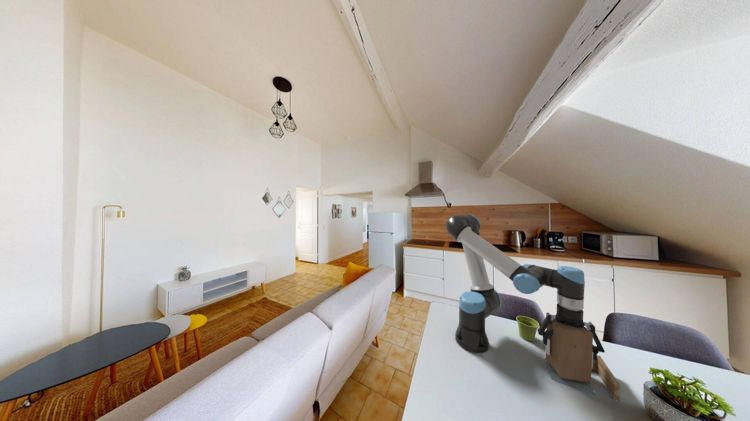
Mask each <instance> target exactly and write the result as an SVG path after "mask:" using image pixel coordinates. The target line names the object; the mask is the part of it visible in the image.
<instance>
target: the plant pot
mask: <svg viewBox="0 0 750 421" xmlns="http://www.w3.org/2000/svg"><path fill="white" fill-rule="evenodd" d="M515 319H516V321H517V326H518V334H519V336H520V337H521V339H522V340H526V341H528V342H531V341H532V342H534V341H535V338H536V334H537V330H538V328H539V327H540V323H539V322H538V321H537V320H535V319H534V318H531V317H528V316H523V315H517V316H516V317H515Z"/></svg>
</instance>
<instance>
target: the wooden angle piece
mask: <svg viewBox="0 0 750 421" xmlns="http://www.w3.org/2000/svg"><path fill="white" fill-rule="evenodd" d="M592 370H593V371H596V373H597V374H598V375H599V377H600V378H601V380H602V382H603V384H604V386H605V388H606V389H607V390H608V392H609V394H610V396H611V397H612V399H613V400H614V401H617V402H620V393H621V392H620V391H621V390H620V388H621V384H620V383H619V382H618V380H617V379H616V377H615V376H614V374H613V373H612V371H611V369H609V367H608V366H607V364H606V362H605V361H604V359H603V358H602V357H601V355H598V354H597V359H596V360H594V359H593V369H592Z"/></svg>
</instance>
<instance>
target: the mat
mask: <svg viewBox="0 0 750 421" xmlns="http://www.w3.org/2000/svg"><path fill="white" fill-rule="evenodd" d="M544 359H545V363H546V366H547V369H548V373H549V377H550V380H553V381H556V382H558V383H560V384H561V383H562V384H564V385H567V386H570V387H572V388H575V389H578V390H581V391H584V392H586V393H588V394H593V395H594V396H596V393H595V391H594V388H593V386H592V385H591V382H590V383H587V382H581V381H575V380H568V379H563V378H561V377H560V376H559V375H558V373H557V372H556V371H555V370H554V369H553V367H552V366H551V365H550V364H549V363H548V361H547V360H546V357H545V358H544Z"/></svg>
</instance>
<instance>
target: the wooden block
mask: <svg viewBox="0 0 750 421" xmlns="http://www.w3.org/2000/svg"><path fill="white" fill-rule="evenodd" d="M549 328H551V329H553V334H552V335H551V336H550V337H549V339H550V355H547V353H546V352H545V358H546V360H547V361H548V363H549V364H550V365H551V366H552V367H553V369H554V370H555V371H556V372H557V373H558V375H559V376H560V377H561V378H563V379H568V380H575V381H581V382H587V383H590V384H591V382H592V370H593V369H592V346H593V345H594V342H593V341H594V339H593V334H592V332H591V331H590V330H589V329H587V327H586V326H584V327H582V328H580V327H579V328H576V327H574V326H572V325H564V324H562V323H560V322H558V321H557V320H556V319H553V320H551V322H550V324H549V325H548V327H547V328H546V330H547V329H549ZM546 360H545V361H546Z"/></svg>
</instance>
